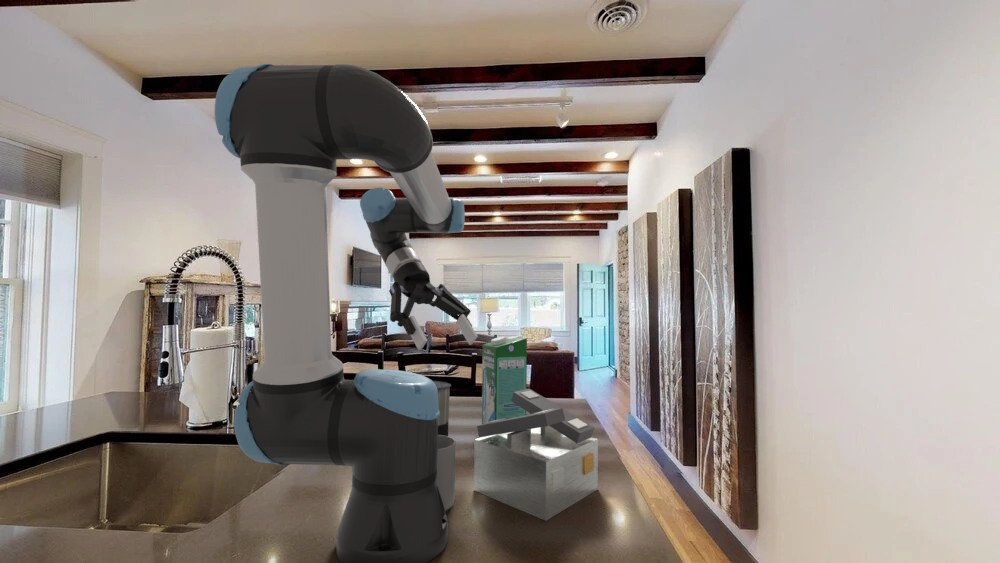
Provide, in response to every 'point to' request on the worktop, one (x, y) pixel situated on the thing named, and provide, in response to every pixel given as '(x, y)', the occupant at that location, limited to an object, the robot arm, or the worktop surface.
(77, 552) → the worktop surface
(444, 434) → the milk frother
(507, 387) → the milk carton
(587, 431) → the rocker
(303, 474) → the worktop surface
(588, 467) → the silver metal box
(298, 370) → the robot arm
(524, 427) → the rocker
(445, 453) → the cup
